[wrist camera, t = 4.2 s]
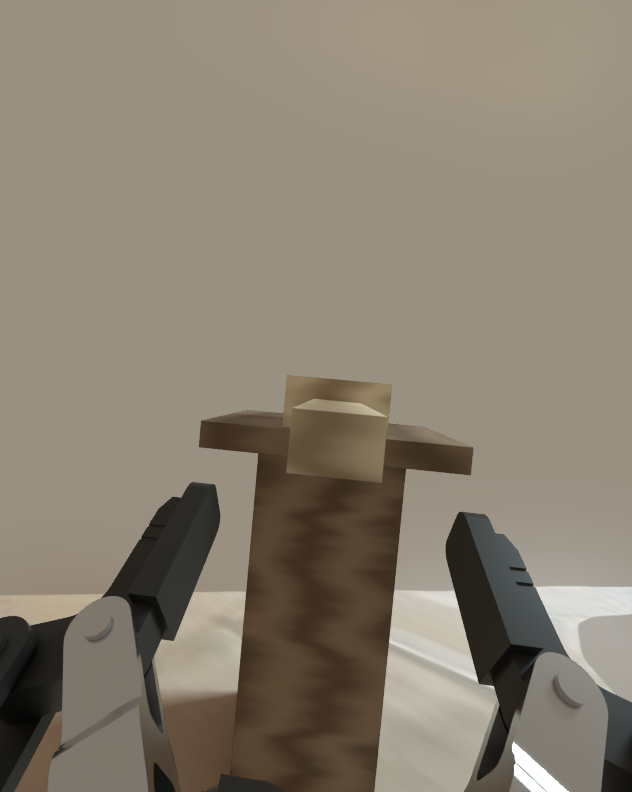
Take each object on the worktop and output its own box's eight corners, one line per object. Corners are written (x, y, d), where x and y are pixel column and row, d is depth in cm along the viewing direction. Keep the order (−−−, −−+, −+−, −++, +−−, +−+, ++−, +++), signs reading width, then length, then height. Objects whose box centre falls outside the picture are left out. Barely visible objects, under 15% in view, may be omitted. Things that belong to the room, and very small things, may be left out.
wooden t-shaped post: (396, 706, 37) (423, 427, 36) (429, 877, 24) (473, 447, 23) (223, 681, 38) (247, 410, 37) (166, 832, 25) (201, 420, 24)
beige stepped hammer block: (374, 425, 33) (377, 385, 33) (444, 489, 12) (455, 378, 12) (294, 418, 33) (298, 378, 33) (226, 466, 12) (235, 359, 12)
